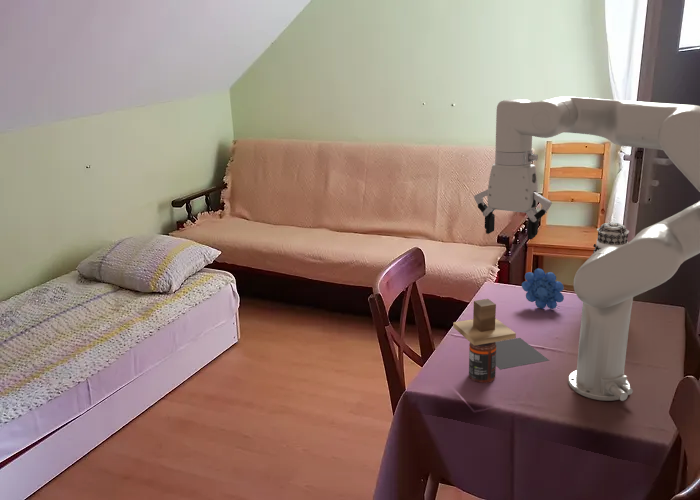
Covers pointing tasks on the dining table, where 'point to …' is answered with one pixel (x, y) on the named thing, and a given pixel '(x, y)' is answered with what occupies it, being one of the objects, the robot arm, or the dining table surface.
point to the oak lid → (484, 325)
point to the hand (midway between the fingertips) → (510, 235)
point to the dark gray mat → (516, 354)
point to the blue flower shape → (543, 289)
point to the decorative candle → (611, 236)
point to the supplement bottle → (482, 362)
